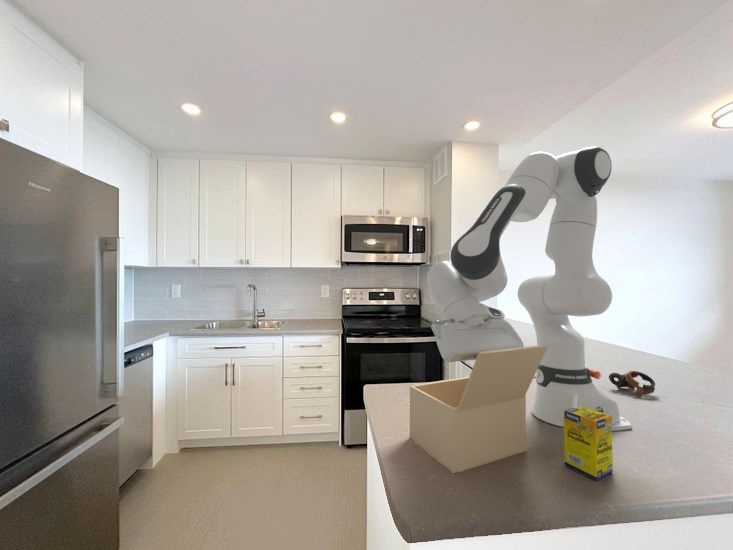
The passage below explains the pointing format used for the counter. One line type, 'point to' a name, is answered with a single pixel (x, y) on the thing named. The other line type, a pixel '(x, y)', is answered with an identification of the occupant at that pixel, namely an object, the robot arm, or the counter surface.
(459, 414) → the carton
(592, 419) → the supplement box
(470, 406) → the carton flap
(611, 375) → the brown black double loop
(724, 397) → the counter surface
